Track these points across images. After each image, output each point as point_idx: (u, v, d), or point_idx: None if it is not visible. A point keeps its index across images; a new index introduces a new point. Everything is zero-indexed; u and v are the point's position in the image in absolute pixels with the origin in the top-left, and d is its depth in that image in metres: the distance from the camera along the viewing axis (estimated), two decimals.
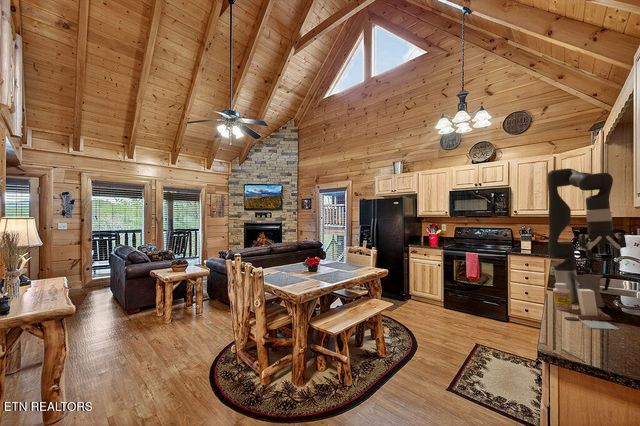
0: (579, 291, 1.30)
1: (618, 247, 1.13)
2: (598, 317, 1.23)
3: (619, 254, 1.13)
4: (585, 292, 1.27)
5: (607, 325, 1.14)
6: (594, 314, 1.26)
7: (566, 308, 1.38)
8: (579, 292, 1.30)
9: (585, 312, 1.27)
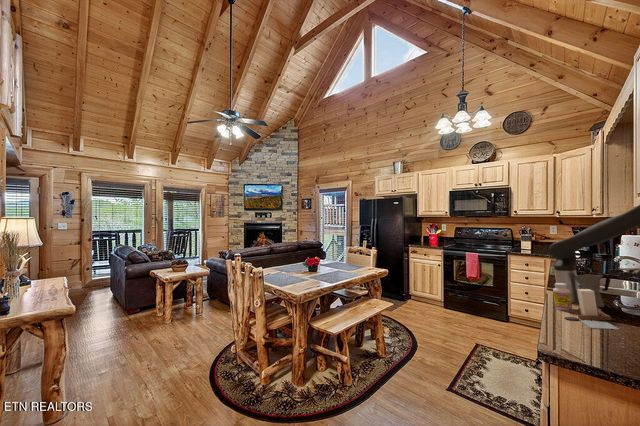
0: (579, 291, 1.30)
1: None
2: (598, 317, 1.23)
3: None
4: (585, 292, 1.27)
5: (607, 325, 1.14)
6: (594, 314, 1.26)
7: (566, 308, 1.38)
8: (579, 292, 1.30)
9: (585, 312, 1.27)
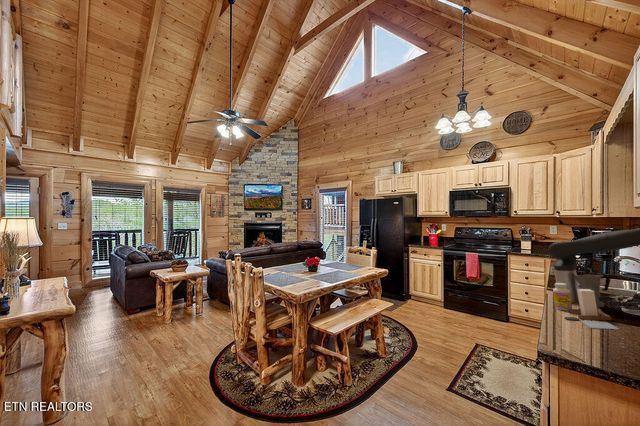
0: (579, 291, 1.30)
1: None
2: (598, 317, 1.23)
3: None
4: (585, 292, 1.27)
5: (607, 325, 1.14)
6: (594, 314, 1.26)
7: (566, 308, 1.38)
8: (579, 292, 1.30)
9: (585, 312, 1.27)
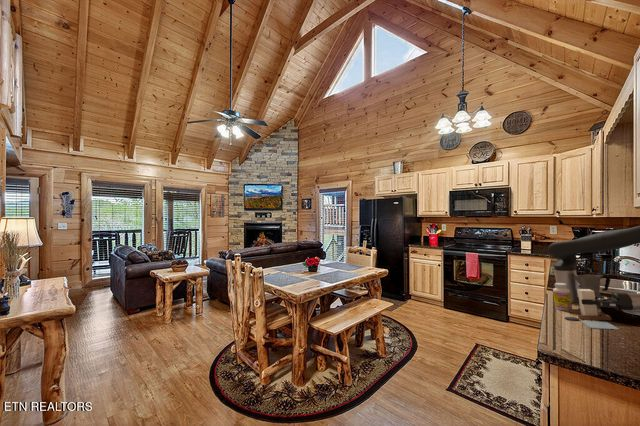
0: (579, 291, 1.30)
1: None
2: (598, 317, 1.23)
3: None
4: (585, 292, 1.27)
5: (607, 325, 1.14)
6: (594, 314, 1.26)
7: (566, 308, 1.38)
8: (579, 292, 1.30)
9: (585, 312, 1.27)
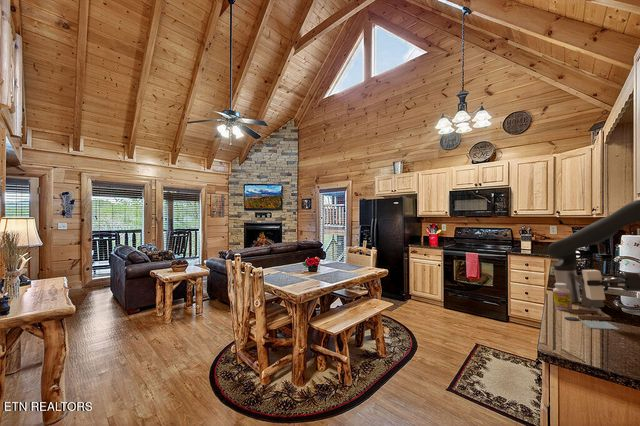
0: (584, 272, 1.20)
1: None
2: (598, 317, 1.23)
3: None
4: (591, 272, 1.17)
5: (607, 325, 1.14)
6: (601, 296, 1.16)
7: (566, 308, 1.38)
8: (584, 273, 1.20)
9: (591, 294, 1.17)
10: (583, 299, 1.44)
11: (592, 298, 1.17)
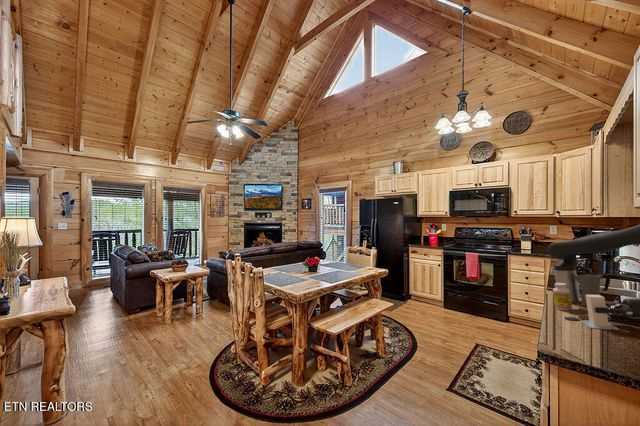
0: (587, 297, 1.18)
1: None
2: None
3: None
4: (594, 298, 1.15)
5: None
6: (604, 323, 1.14)
7: (566, 308, 1.38)
8: (587, 298, 1.18)
9: (594, 320, 1.15)
10: (583, 299, 1.44)
11: (595, 324, 1.15)
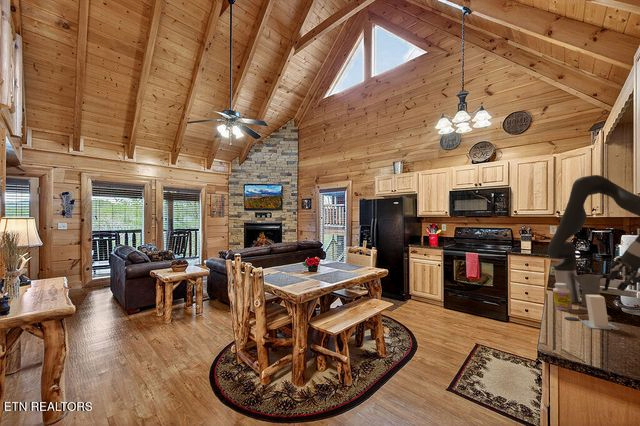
0: (587, 297, 1.18)
1: None
2: None
3: None
4: (594, 298, 1.15)
5: None
6: (604, 323, 1.14)
7: (566, 308, 1.38)
8: (587, 298, 1.18)
9: (594, 320, 1.15)
10: (583, 299, 1.44)
11: (595, 324, 1.15)
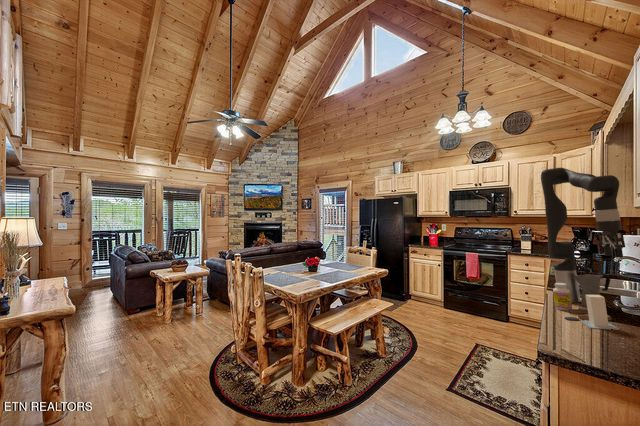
0: (587, 297, 1.18)
1: None
2: None
3: None
4: (594, 298, 1.15)
5: None
6: (604, 323, 1.14)
7: (566, 308, 1.38)
8: (587, 298, 1.18)
9: (594, 320, 1.15)
10: (583, 299, 1.44)
11: (595, 324, 1.15)
